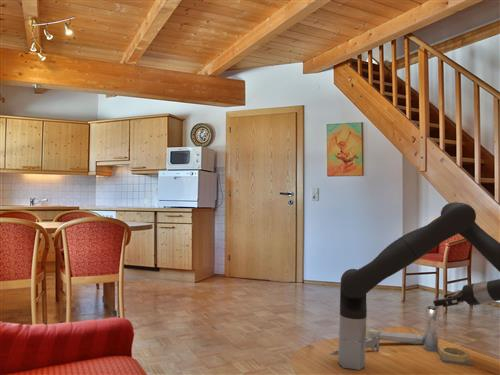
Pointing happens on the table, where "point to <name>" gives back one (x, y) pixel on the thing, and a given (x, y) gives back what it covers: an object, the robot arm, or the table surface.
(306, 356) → the table surface
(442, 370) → the table surface
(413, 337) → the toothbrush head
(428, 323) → the grey bottle
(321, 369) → the table surface
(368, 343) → the caliper
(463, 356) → the ring block
